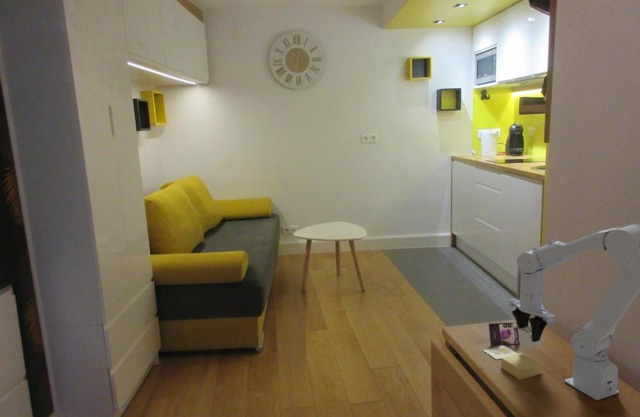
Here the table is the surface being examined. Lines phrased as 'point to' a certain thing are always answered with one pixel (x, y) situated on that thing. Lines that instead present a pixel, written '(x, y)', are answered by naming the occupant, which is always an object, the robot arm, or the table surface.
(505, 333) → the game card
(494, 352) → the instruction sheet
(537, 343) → the top brick
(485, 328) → the table surface
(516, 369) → the base brick
